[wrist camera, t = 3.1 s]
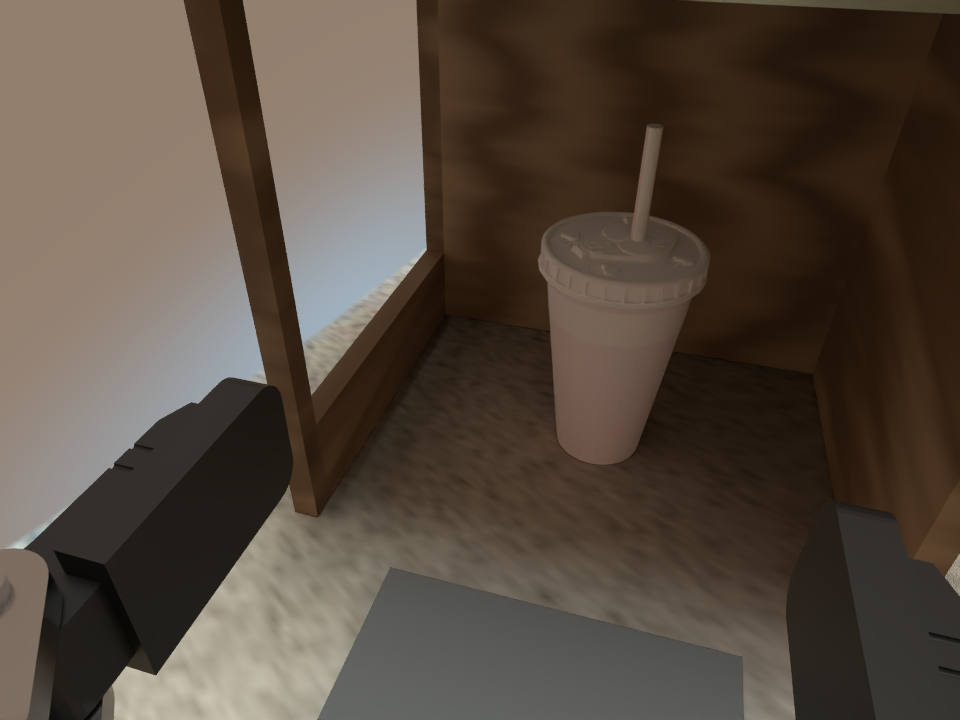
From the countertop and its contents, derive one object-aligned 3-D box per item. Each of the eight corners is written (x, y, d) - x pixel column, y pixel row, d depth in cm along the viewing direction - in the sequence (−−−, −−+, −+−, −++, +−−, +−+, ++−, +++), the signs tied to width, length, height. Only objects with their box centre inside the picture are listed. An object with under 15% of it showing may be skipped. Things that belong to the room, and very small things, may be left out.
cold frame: (839, 362, 36) (1014, -89, 25) (913, 674, 22) (1404, -38, 10) (430, 298, 41) (413, -101, 30) (277, 517, 27) (133, -77, 16)
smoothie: (697, 464, 30) (782, 146, 22) (567, 504, 28) (606, 171, 20) (620, 381, 35) (667, 95, 27) (505, 410, 33) (516, 111, 25)
